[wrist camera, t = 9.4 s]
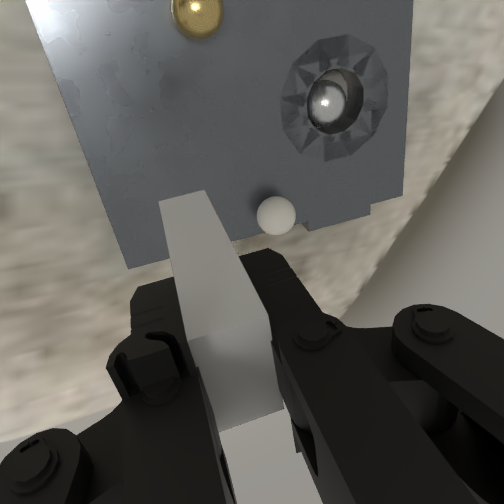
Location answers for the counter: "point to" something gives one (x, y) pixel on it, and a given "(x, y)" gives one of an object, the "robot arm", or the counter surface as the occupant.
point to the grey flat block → (231, 108)
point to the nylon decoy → (276, 215)
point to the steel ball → (325, 103)
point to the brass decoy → (198, 17)
